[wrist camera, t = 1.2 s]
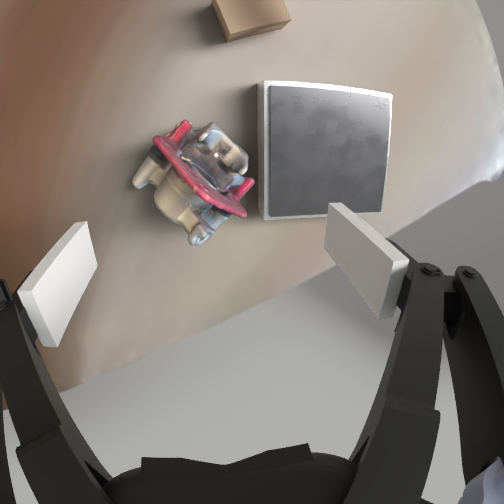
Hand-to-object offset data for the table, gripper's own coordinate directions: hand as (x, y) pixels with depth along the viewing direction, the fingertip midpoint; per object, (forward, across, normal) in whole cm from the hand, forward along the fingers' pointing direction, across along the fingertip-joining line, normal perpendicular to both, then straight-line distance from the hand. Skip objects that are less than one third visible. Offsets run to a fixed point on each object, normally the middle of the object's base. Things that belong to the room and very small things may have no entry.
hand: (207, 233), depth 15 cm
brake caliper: (+18, -1, 0) cm, 18 cm away
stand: (+17, +13, +2) cm, 22 cm away
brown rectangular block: (+18, +5, +17) cm, 25 cm away
